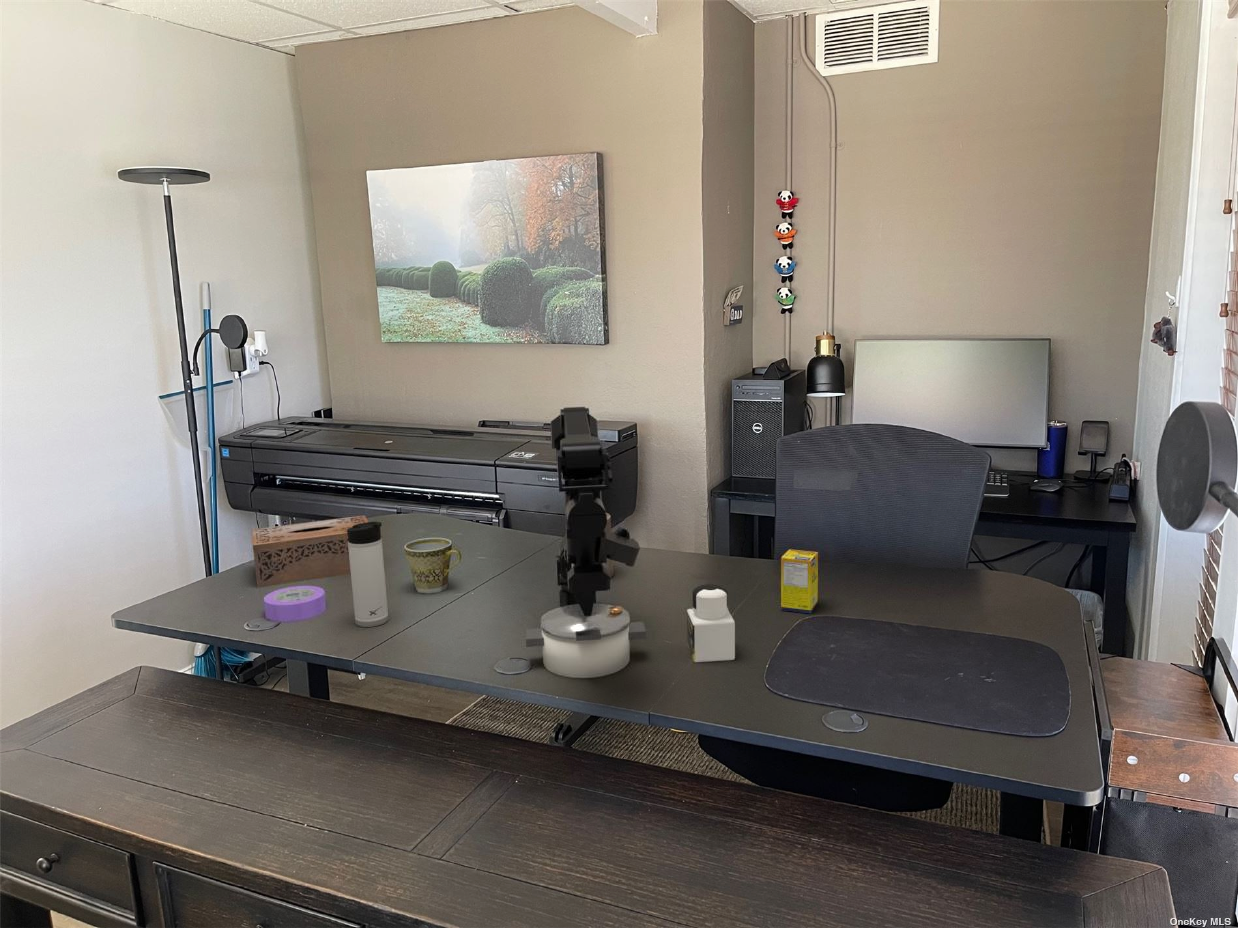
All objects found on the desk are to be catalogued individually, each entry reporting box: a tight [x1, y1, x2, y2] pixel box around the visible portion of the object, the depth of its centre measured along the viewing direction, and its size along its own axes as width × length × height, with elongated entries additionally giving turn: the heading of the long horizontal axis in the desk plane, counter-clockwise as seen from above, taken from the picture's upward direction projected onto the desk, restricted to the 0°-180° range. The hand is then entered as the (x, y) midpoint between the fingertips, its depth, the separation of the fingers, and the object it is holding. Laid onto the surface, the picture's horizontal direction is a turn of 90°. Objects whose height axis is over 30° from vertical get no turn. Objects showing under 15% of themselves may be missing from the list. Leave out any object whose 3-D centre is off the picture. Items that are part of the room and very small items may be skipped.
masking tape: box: [263, 585, 327, 623], centre depth 181 cm, size 12×12×4 cm
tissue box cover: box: [250, 515, 369, 589], centre depth 207 cm, size 26×14×10 cm, turn 113°
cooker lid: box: [540, 603, 631, 641], centre depth 152 cm, size 17×15×2 cm
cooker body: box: [525, 621, 647, 679], centre depth 154 cm, size 16×20×6 cm
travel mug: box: [347, 521, 389, 628], centre depth 173 cm, size 6×7×20 cm
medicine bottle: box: [686, 583, 736, 663], centre depth 154 cm, size 7×7×12 cm
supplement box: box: [780, 549, 819, 615], centre depth 174 cm, size 6×6×11 cm
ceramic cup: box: [404, 537, 462, 595], centre depth 191 cm, size 13×10×10 cm
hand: (587, 615), depth 142 cm, fingers closed
